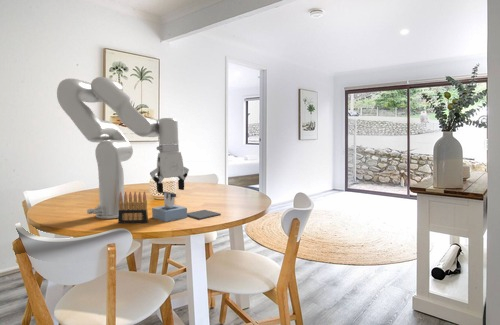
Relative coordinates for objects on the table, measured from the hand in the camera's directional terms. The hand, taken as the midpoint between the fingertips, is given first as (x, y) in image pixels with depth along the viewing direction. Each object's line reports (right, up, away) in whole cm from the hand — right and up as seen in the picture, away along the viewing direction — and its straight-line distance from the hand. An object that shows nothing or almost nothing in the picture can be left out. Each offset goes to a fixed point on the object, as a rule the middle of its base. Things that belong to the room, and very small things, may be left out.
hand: (171, 191), depth 128 cm
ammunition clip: (-13, -12, -7) cm, 19 cm away
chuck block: (-1, -11, +1) cm, 11 cm away
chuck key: (-1, -11, +1) cm, 11 cm away
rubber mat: (+12, -11, +5) cm, 17 cm away
